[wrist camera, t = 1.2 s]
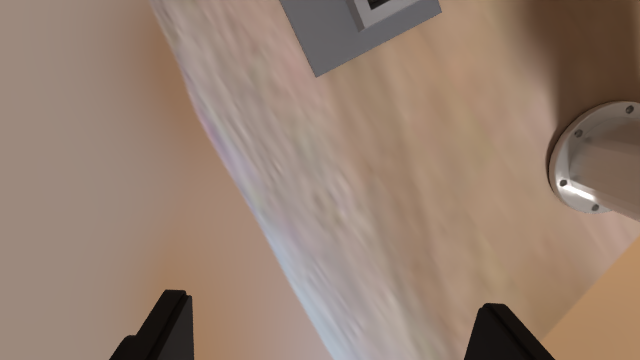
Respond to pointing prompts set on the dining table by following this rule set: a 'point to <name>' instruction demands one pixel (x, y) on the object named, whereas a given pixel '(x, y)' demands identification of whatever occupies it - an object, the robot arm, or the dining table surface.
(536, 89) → the dining table surface
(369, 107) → the dining table surface
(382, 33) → the panel
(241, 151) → the dining table surface
